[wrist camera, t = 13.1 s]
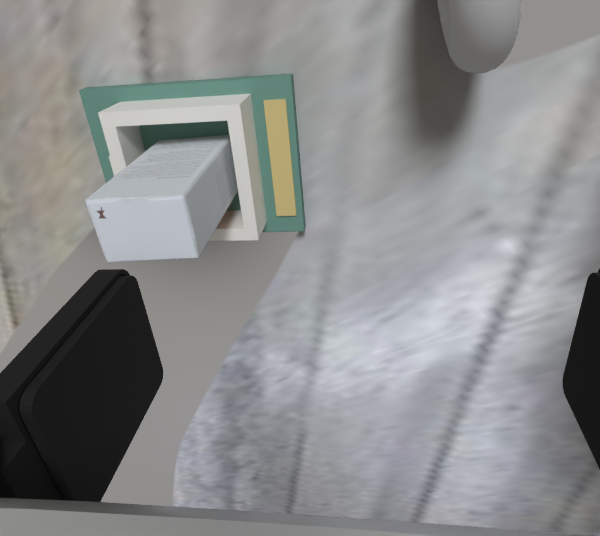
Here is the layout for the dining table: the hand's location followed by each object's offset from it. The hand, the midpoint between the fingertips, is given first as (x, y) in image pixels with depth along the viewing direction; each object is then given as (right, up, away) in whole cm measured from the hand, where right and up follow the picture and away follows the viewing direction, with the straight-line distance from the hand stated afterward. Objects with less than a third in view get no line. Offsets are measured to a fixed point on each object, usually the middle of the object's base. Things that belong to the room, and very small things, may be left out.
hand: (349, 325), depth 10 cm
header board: (-9, +10, +29) cm, 32 cm away
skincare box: (-9, +10, +28) cm, 31 cm away
